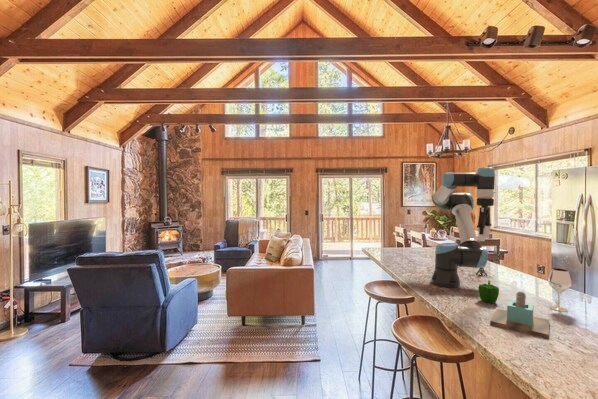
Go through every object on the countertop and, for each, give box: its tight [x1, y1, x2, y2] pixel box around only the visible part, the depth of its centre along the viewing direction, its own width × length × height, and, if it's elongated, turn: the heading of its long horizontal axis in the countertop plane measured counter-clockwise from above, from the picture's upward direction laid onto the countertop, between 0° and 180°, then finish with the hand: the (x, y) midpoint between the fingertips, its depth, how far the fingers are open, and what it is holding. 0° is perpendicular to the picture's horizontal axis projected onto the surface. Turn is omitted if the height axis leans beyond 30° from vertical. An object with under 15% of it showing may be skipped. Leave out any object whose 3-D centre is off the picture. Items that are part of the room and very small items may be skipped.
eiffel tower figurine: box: [468, 267, 495, 279], centre depth 201 cm, size 15×10×13 cm
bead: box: [506, 300, 535, 326], centre depth 124 cm, size 8×8×6 cm
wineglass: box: [547, 267, 573, 313], centre depth 142 cm, size 8×8×18 cm
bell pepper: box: [477, 279, 500, 304], centre depth 150 cm, size 8×8×10 cm
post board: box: [489, 291, 550, 340], centre depth 124 cm, size 18×18×13 cm
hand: (483, 239), depth 158 cm, fingers open, 13 cm apart
